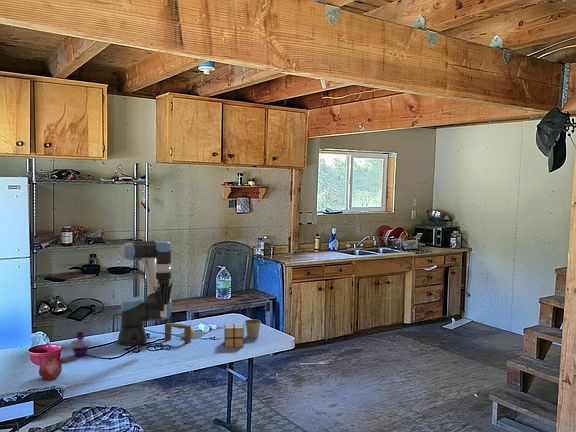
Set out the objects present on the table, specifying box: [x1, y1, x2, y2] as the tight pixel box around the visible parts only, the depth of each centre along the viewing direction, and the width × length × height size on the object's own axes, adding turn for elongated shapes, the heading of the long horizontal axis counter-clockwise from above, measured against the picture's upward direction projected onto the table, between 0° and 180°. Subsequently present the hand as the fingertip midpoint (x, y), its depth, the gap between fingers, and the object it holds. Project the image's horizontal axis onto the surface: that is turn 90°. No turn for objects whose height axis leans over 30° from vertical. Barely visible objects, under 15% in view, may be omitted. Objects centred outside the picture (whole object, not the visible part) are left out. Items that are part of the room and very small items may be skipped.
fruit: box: [38, 355, 63, 381], centre depth 220 cm, size 9×10×10 cm
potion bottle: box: [70, 330, 91, 358], centre depth 249 cm, size 9×9×12 cm
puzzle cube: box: [223, 323, 245, 348], centre depth 271 cm, size 10×10×10 cm
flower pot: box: [244, 318, 262, 339], centre depth 285 cm, size 9×9×9 cm
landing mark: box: [176, 330, 208, 340], centre depth 288 cm, size 13×13×1 cm
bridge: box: [164, 322, 192, 345], centre depth 274 cm, size 3×14×9 cm, turn 68°
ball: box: [183, 327, 195, 336], centre depth 283 cm, size 6×6×6 cm
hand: (163, 316), depth 262 cm, fingers closed
